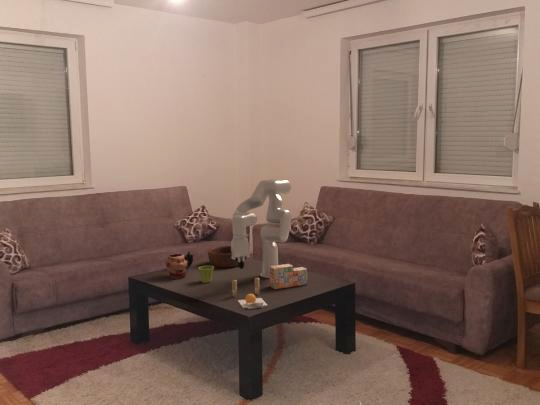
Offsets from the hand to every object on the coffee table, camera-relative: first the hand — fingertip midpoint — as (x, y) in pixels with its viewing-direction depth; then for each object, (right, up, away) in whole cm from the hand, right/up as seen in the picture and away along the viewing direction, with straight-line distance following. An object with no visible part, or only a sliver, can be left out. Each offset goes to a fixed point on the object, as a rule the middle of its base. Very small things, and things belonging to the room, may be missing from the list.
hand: (241, 268), depth 315 cm
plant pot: (-22, -10, +17) cm, 30 cm away
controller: (-40, -6, +51) cm, 65 cm away
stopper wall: (+9, -16, -33) cm, 38 cm away
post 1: (-3, -14, -13) cm, 20 cm away
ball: (+6, -13, -28) cm, 31 cm away
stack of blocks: (+27, -11, +7) cm, 30 cm away
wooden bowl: (-13, -5, +59) cm, 61 cm away
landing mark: (+7, -15, -25) cm, 30 cm away
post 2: (+9, -13, -10) cm, 19 cm away
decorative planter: (-42, -9, +30) cm, 53 cm away
